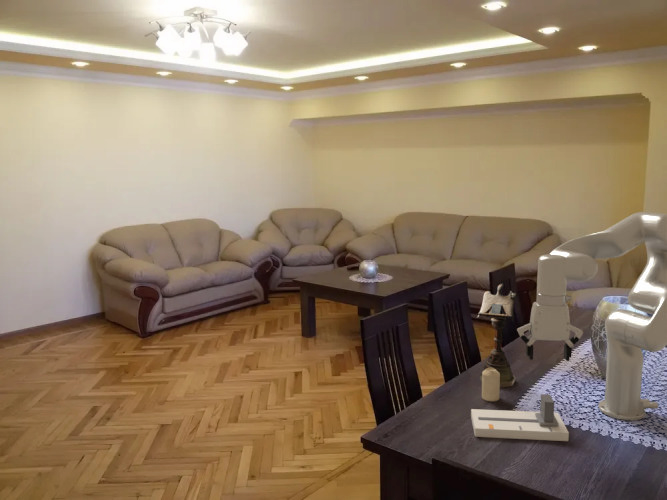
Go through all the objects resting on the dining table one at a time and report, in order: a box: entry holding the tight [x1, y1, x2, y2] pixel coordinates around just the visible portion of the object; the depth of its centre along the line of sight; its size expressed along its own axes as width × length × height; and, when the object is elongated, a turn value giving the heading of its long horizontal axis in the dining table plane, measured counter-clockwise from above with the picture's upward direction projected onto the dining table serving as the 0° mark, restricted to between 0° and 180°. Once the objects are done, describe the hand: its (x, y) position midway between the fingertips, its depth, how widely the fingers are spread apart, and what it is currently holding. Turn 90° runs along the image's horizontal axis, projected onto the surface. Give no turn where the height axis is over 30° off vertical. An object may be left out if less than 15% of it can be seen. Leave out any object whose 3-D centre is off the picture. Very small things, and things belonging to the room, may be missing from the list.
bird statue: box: [476, 283, 517, 388], centre depth 186 cm, size 17×13×35 cm
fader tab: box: [535, 393, 559, 426], centre depth 155 cm, size 5×6×7 cm
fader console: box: [470, 408, 570, 442], centre depth 157 cm, size 25×12×3 cm, turn 81°
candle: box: [481, 367, 501, 402], centre depth 176 cm, size 6×6×10 cm
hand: (548, 358), depth 152 cm, fingers open, 9 cm apart
